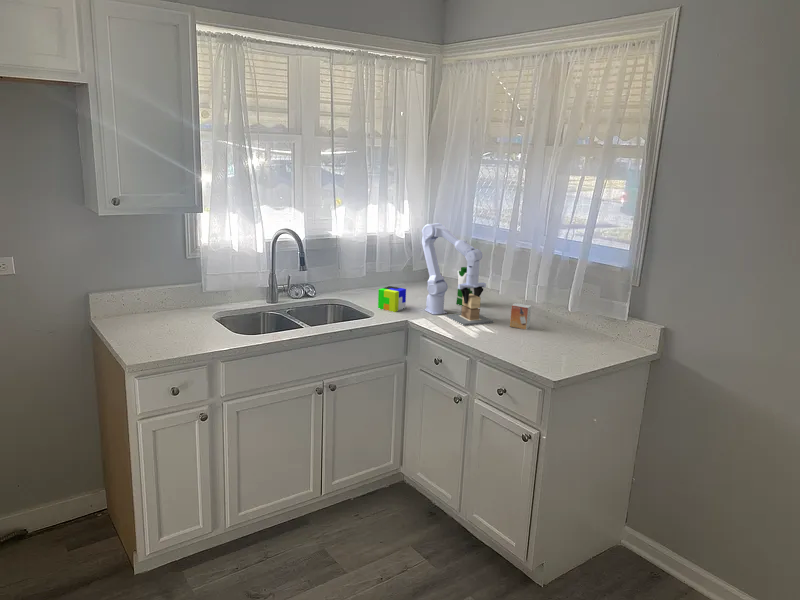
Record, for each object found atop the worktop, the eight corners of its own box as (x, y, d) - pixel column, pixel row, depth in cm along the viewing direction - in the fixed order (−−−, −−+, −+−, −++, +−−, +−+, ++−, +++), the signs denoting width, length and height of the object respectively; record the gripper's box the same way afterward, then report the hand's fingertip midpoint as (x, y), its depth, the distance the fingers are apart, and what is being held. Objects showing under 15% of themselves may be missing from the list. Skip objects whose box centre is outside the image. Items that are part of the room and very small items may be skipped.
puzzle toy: (405, 308, 310) (406, 288, 307) (394, 312, 302) (395, 292, 299) (389, 304, 315) (389, 286, 312) (378, 308, 307) (378, 289, 304)
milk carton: (453, 303, 321) (455, 266, 316) (466, 302, 326) (469, 265, 321) (464, 307, 314) (466, 269, 309) (477, 305, 319) (480, 268, 314)
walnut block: (461, 315, 295) (461, 305, 293) (470, 314, 297) (470, 305, 296) (470, 320, 288) (470, 310, 286) (479, 319, 290) (479, 309, 289)
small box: (509, 327, 283) (511, 305, 281) (513, 324, 288) (514, 302, 285) (526, 329, 280) (528, 307, 277) (529, 326, 284) (531, 305, 282)
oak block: (462, 304, 293) (462, 294, 292) (471, 303, 295) (471, 293, 294) (471, 308, 286) (471, 298, 285) (480, 307, 288) (480, 297, 287)
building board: (447, 316, 296) (447, 314, 296) (475, 313, 303) (475, 311, 303) (464, 325, 282) (464, 323, 282) (493, 322, 289) (493, 320, 289)
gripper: (463, 277, 281) (462, 306, 284) (490, 275, 287) (488, 303, 290) (456, 274, 287) (454, 302, 290) (482, 272, 293) (480, 300, 296)
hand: (470, 302), depth 291 cm, fingers closed on oak block, 5 cm apart
